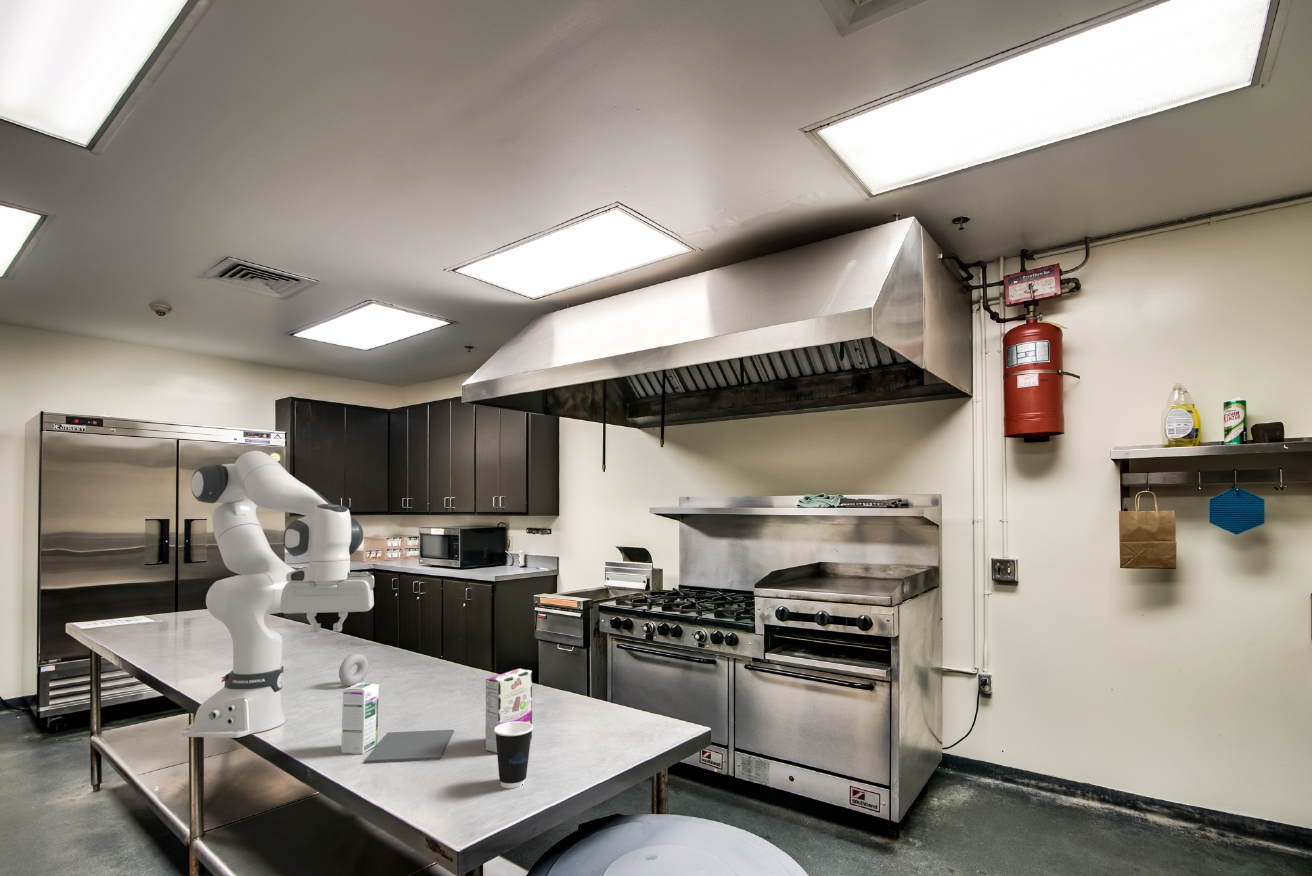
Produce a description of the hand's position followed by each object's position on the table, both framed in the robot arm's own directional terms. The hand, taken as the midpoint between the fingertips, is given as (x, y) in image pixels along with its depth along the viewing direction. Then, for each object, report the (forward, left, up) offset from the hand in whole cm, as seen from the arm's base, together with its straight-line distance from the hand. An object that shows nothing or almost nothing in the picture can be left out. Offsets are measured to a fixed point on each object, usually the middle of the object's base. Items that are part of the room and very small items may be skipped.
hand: (326, 631), depth 154 cm
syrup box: (+8, 0, -27) cm, 29 cm away
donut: (-11, +57, -27) cm, 64 cm away
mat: (+20, 0, -27) cm, 34 cm away
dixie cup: (+46, -24, -27) cm, 59 cm away
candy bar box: (+43, -2, -27) cm, 51 cm away
